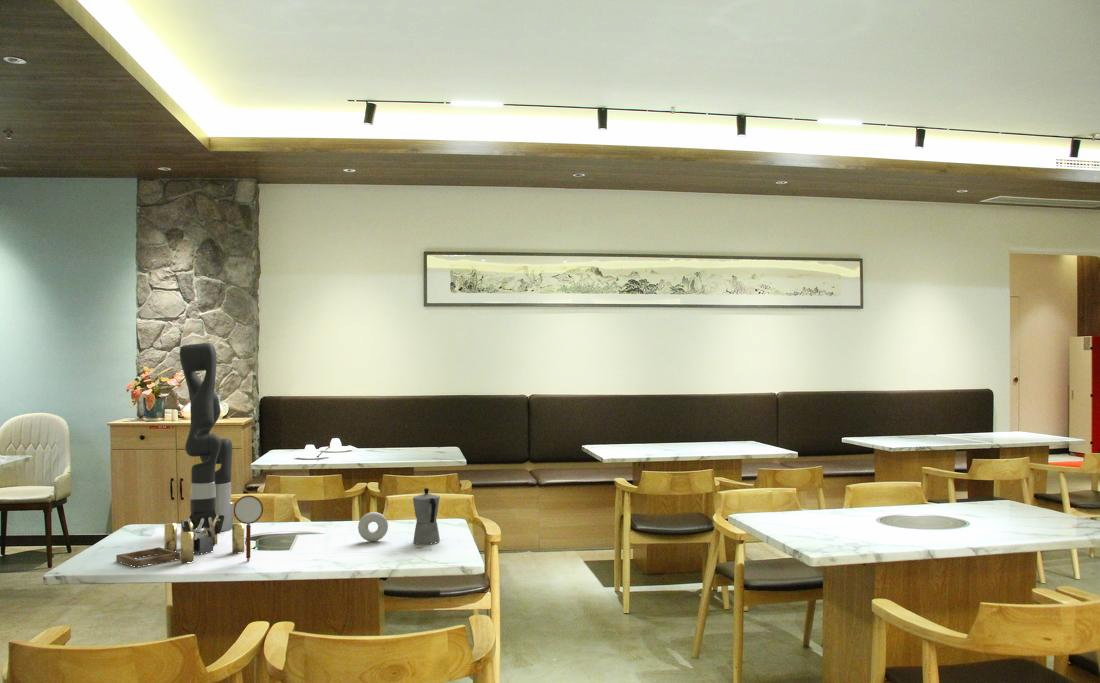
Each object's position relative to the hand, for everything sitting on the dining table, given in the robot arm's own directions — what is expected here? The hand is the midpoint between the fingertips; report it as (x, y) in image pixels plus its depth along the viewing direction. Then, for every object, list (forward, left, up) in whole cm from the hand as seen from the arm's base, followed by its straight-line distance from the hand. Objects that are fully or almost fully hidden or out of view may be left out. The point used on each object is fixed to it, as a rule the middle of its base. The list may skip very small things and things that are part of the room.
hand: (202, 549), depth 262 cm
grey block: (0, 0, -1) cm, 1 cm away
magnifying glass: (-2, +23, -1) cm, 23 cm away
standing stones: (+1, -1, -1) cm, 1 cm away
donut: (-43, +32, -1) cm, 54 cm away
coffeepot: (-53, +48, -1) cm, 72 cm away
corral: (+16, -3, -1) cm, 16 cm away
